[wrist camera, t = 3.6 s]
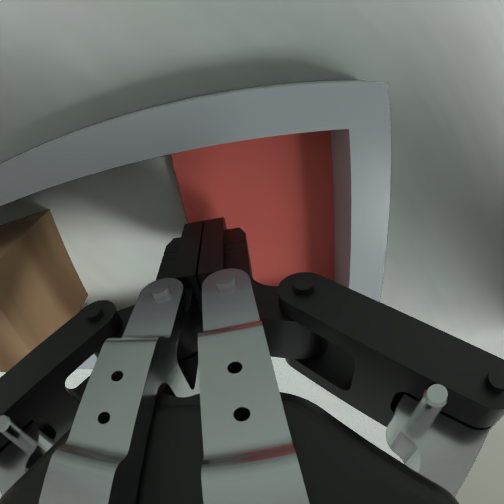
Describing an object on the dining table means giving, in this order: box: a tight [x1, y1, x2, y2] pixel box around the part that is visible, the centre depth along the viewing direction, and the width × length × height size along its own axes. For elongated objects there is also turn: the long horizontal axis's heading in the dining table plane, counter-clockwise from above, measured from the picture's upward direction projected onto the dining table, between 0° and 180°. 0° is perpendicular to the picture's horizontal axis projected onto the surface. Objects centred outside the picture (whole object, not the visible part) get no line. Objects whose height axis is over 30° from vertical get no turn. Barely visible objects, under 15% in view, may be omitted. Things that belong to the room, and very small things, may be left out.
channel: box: [0, 80, 391, 369], centre depth 12 cm, size 26×11×2 cm, turn 98°
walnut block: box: [0, 210, 88, 372], centre depth 11 cm, size 5×5×6 cm
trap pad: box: [171, 130, 335, 286], centre depth 13 cm, size 6×8×1 cm
